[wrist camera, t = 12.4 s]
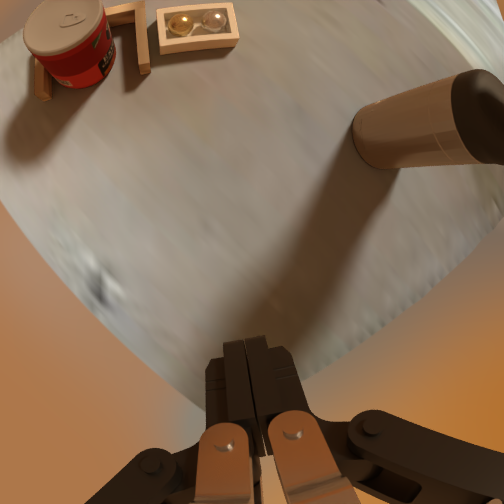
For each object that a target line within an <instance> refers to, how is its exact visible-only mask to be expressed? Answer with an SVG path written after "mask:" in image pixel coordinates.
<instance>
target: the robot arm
mask: <svg viewBox="0 0 504 504" xmlns="http://www.w3.org/2000/svg"><path fill="white" fill-rule="evenodd" d="M352 133H353V140H354V143H355V146H356V148H357V151H358V152H359V154H360V155H361V157H362V158H363V159H364V160H365V161H366V162H367V163H368V164H370V165H371V166H373V167H375V168H377V169H393V168H409V167H425V166H443V165H464V164H499V165H504V85H503V84H502V82H501V81H500V80H499V79H498V78H497V77H496V76H494V75H493V74H492V73H490V72H488V71H486V70H482V69H475V70H470V71H467V72H463V73H460V74H457V75H454V76H451V77H447V78H444V79H441V80H438V81H435V82H432V83H429V84H426V85H423V86H420V87H417V88H414V89H411V90H408V91H405V92H402V93H400V94H397V95H394V96H391V97H389V98H386V99H383V100H380V101H378V102H375V103H372V104H370V105H367V106H365V107H363V108H361V109H360V110H359V112H358V113H357V114H356V116H355V118H354V122H353V128H352ZM245 344H246V349H245V345H244V341H243V339H242V340H237V341H232V342H226V343H223V352H224V357H222V358H216V359H211V361H210V362H209V364H208V366H207V368H206V370H205V381H206V430H205V432H204V433H203V434H202V436H201V438H200V440H199V442H197V443H196V444H195V445H194V446H192V447H190V448H187V449H185V450H182V451H180V452H177V453H174V454H171V453H169V452H168V451H166V450H164V449H160V448H150V449H146V450H144V451H142V452H140V453H139V454H138V455H136V456H135V457H134V458H133V459H132V460H131V461H130V462H129V463H128V464H127V465H126V466H125V467H124V468H123V469H122V470H121V471H120V472H119V473H117V474H116V475H115V476H114V477H113V478H112V479H111V480H110V481H109V482H108V483H107V484H106V485H105V486H103V487H102V488H101V489H100V490H99V491H98V492H97V493H96V494H95V495H93V497H91V498H90V499H89V500H88V501H87V502H86V503H85V504H263V491H262V477H261V465H260V459H259V457H263V456H266V454H265V449H264V443H265V446H266V450H267V454H268V455H273V456H274V461H275V465H276V469H277V473H278V476H279V480H280V483H281V486H282V489H283V492H284V496H285V499H286V502H287V504H361V503H360V501H359V499H358V497H357V495H356V492H355V491H354V488H353V487H356V488H358V489H360V490H361V491H364V492H366V493H368V494H370V495H372V496H374V497H376V498H378V499H380V500H383V501H385V502H387V503H389V504H504V453H501V452H497V451H493V450H491V449H487V448H484V447H480V446H477V445H474V444H471V443H468V442H465V441H462V440H459V439H456V438H453V437H450V436H447V435H444V434H442V433H439V432H436V431H433V430H430V429H427V428H425V427H422V426H420V425H417V424H414V423H412V422H409V421H407V420H404V419H402V418H399V417H396V416H394V415H392V414H389V413H386V412H384V411H381V410H368V411H364V412H362V413H359V414H358V415H356V416H355V417H354V418H353V419H352V420H351V422H330V421H325V420H322V419H320V418H318V417H317V416H315V415H314V414H313V413H312V412H311V410H310V409H309V406H308V404H307V400H306V398H305V395H304V391H303V389H302V386H301V382H300V379H299V376H298V374H297V371H296V368H295V365H294V362H293V359H292V356H291V354H290V353H289V352H288V351H287V350H286V349H285V348H284V347H283V346H279V347H275V348H270V349H268V346H267V342H266V338H265V335H263V336H258V337H253V338H247V339H245ZM246 350H247V354H246ZM247 356H248V358H247ZM262 435H263V438H262ZM263 439H264V443H263Z"/></svg>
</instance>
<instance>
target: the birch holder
mask: <svg viewBox="0 0 504 504" xmlns="http://www.w3.org/2000/svg"><path fill="white" fill-rule="evenodd" d="M104 10H105V13H106V17H107V20H108V24H109V27H114V26H118V25H122V24H127V23H132V22H135V24H136V39H137V52H138V63H139V69H140V74H141V75H142V74H147V73H151V69H150V60H149V50H148V39H147V27H146V14H145V0H144V1H139V2H133V3H128V4H123V5H119V6H114V7H110V8H106V9H104ZM34 95H35V96H37V97H38V98H39V99H41V100H42V101H43V102H44V101H47V100H50V99H52V75H51V74H50V73H49V72H48V71H47V70H46V69H45V67H44V66H43V65H42V64H41V63H40V62H39V61H38V60H37V59H36V58H35V74H34Z"/></svg>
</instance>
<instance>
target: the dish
mask: <svg viewBox="0 0 504 504" xmlns="http://www.w3.org/2000/svg"><path fill="white" fill-rule="evenodd" d="M209 11H219V12H221V13H222V14H223V15H224V16H225V17H226V26H225V28H224V29H223V30H222V31H220V32H218V33H208V32H206V31H204V30H203V29H202V27H201V24H200V22H201V18H202V16H203V15H204V14H205V13H207V12H209ZM177 14H187V15H189V16H190V17H191V18H192V19H193V22H194V27H193V29H192V31H191V32H190V33H189V34H188V35H186V36H183V37H177V36H174V35H172V34H171V33H170V32H169V30H168V22H169V20H170V19H171V18H172V17H173V16H175V15H177ZM156 18H157V30H158V40H159V49H160V55H164V54H171V53H177V52H185V51H193V50H202V49H212V48H224V47H235V46H236V44H237V42H238V40H239V33H238V28H237V23H236V18H235V14H234V9H233V4H232V3H214V4H199V5H188V6H179V7H171V8H163V9H156Z"/></svg>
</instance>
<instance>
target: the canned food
mask: <svg viewBox="0 0 504 504" xmlns="http://www.w3.org/2000/svg"><path fill="white" fill-rule="evenodd" d="M23 40H24V43H25V45H26V47H27V48H28V50H29V51H30V52H31V53H32V55H33V56H34V57H35V58H36V59H37V60H38V61H39V62H40V63H41V64H42V65H43V66H44V67H45V69H46V70H47V71H48V72H49V73H50V74H51V75H52V76H53V77H54V78H55V79H56V80H57V81H58V82H59V83H60V84H61V85H63V86H65V87H69V88H74V89H80V88H86V87H89V86H92V85H94V84H96V83H98V82H99V81H100V80H102V79H103V78H104V77H105V76H106V75H107V74H108V73H109V71H110V70H111V68H112V66H113V64H114V61H115V58H116V48H115V44H114V41H113V38H112V34H111V31H110V27H109V24H108V20H107V17H106V13H105V10H104V7H103V4H102V2H101V0H45V1H44V2H42V3H41V4H40V5H39V6H38V7H37V8H36V9H35V10H34V11H33V12H32V13H31V15H30V16H29V18H28V19H27V21H26V24H25V26H24V30H23Z"/></svg>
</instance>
